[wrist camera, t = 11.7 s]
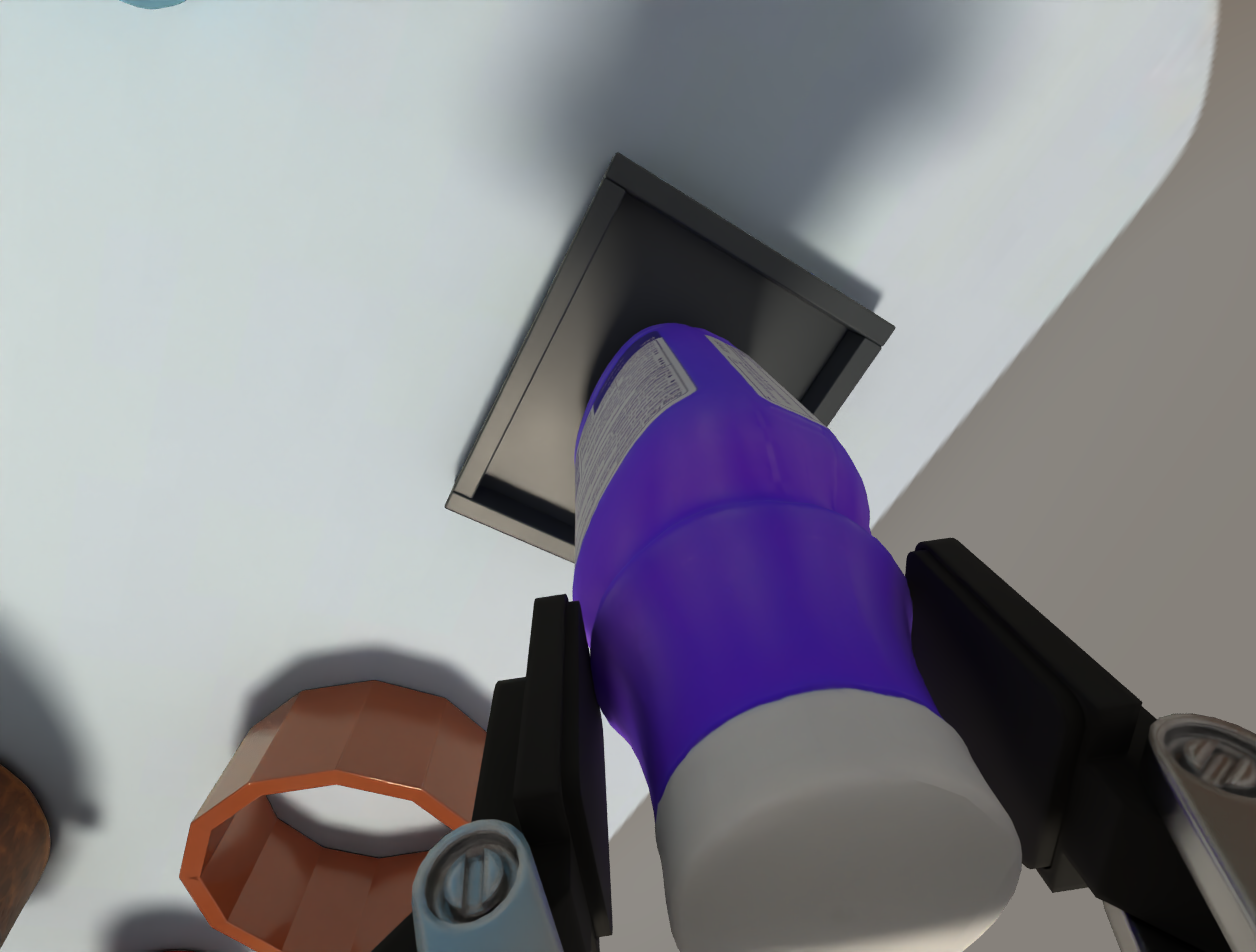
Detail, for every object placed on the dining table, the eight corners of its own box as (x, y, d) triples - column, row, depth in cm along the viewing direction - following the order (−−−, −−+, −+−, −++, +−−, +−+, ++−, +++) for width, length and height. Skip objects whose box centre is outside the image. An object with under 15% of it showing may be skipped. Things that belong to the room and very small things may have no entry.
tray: (688, 589, 28) (696, 616, 26) (453, 486, 25) (443, 508, 23) (872, 318, 23) (897, 327, 22) (613, 155, 21) (616, 150, 19)
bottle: (683, 523, 25) (884, 1104, 9) (550, 472, 23) (498, 1047, 7) (774, 358, 22) (1284, 741, 6) (631, 290, 21) (818, 557, 5)
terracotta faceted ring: (294, 880, 33) (249, 987, 29) (201, 704, 28) (128, 800, 24) (525, 845, 34) (517, 946, 29) (474, 664, 28) (454, 752, 24)
